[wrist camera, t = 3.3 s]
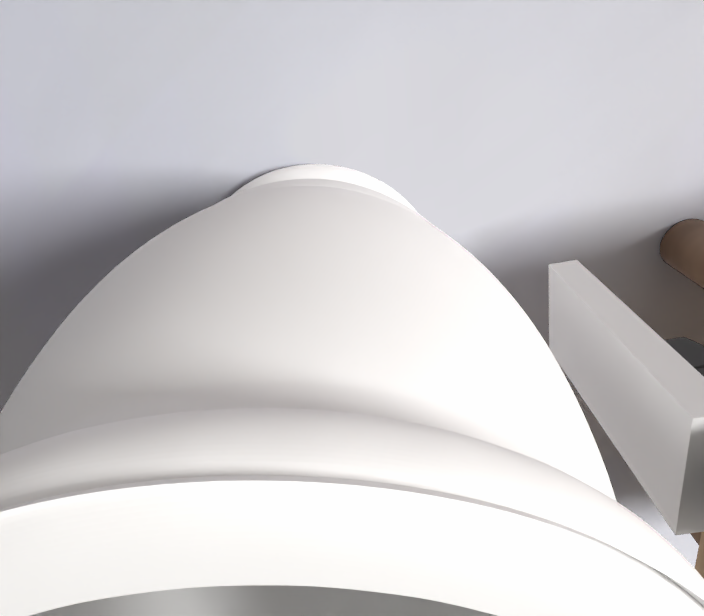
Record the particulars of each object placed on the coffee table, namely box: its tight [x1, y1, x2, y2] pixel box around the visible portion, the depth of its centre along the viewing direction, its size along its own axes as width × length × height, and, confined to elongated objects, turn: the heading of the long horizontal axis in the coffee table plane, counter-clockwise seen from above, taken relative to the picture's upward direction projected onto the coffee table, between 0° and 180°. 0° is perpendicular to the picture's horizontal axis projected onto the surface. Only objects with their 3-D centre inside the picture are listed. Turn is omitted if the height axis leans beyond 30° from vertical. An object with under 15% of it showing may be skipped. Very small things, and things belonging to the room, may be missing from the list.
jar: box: [0, 164, 704, 616], centre depth 12 cm, size 11×10×15 cm
